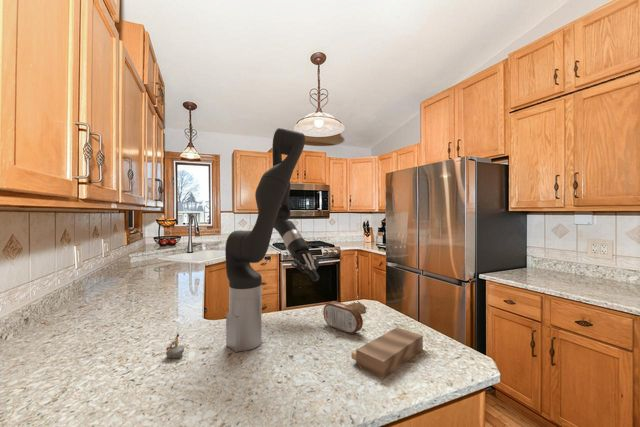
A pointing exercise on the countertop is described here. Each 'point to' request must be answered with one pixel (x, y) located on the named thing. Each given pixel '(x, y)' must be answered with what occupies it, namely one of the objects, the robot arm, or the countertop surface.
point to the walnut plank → (388, 352)
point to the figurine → (174, 349)
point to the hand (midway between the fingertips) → (316, 279)
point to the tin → (343, 317)
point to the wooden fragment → (358, 307)
